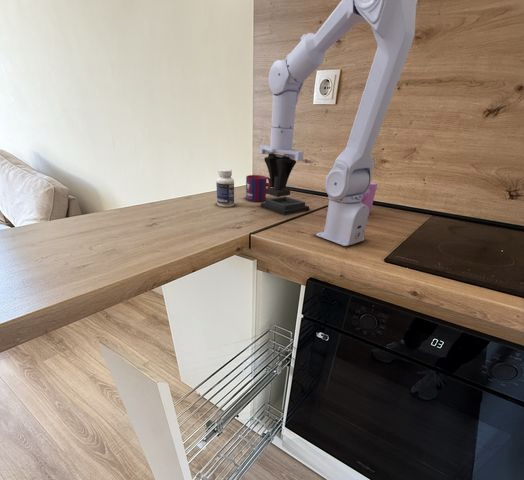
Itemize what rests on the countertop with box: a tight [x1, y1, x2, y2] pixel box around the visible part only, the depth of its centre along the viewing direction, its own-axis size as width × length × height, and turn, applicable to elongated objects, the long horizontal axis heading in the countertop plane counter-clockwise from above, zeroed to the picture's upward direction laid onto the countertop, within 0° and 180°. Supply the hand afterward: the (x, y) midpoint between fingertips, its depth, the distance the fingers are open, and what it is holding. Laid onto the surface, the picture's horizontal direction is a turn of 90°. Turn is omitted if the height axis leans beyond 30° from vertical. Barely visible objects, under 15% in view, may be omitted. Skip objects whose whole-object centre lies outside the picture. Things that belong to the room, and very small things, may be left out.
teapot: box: [361, 181, 378, 213], centre depth 93 cm, size 18×14×10 cm
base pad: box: [260, 196, 310, 216], centre depth 96 cm, size 11×11×2 cm
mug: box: [245, 174, 272, 203], centre depth 103 cm, size 7×10×7 cm
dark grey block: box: [265, 176, 291, 198], centre depth 85 cm, size 5×5×4 cm
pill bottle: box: [215, 168, 235, 208], centre depth 93 cm, size 5×5×10 cm
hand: (278, 187), depth 85 cm, fingers closed on dark grey block, 2 cm apart
